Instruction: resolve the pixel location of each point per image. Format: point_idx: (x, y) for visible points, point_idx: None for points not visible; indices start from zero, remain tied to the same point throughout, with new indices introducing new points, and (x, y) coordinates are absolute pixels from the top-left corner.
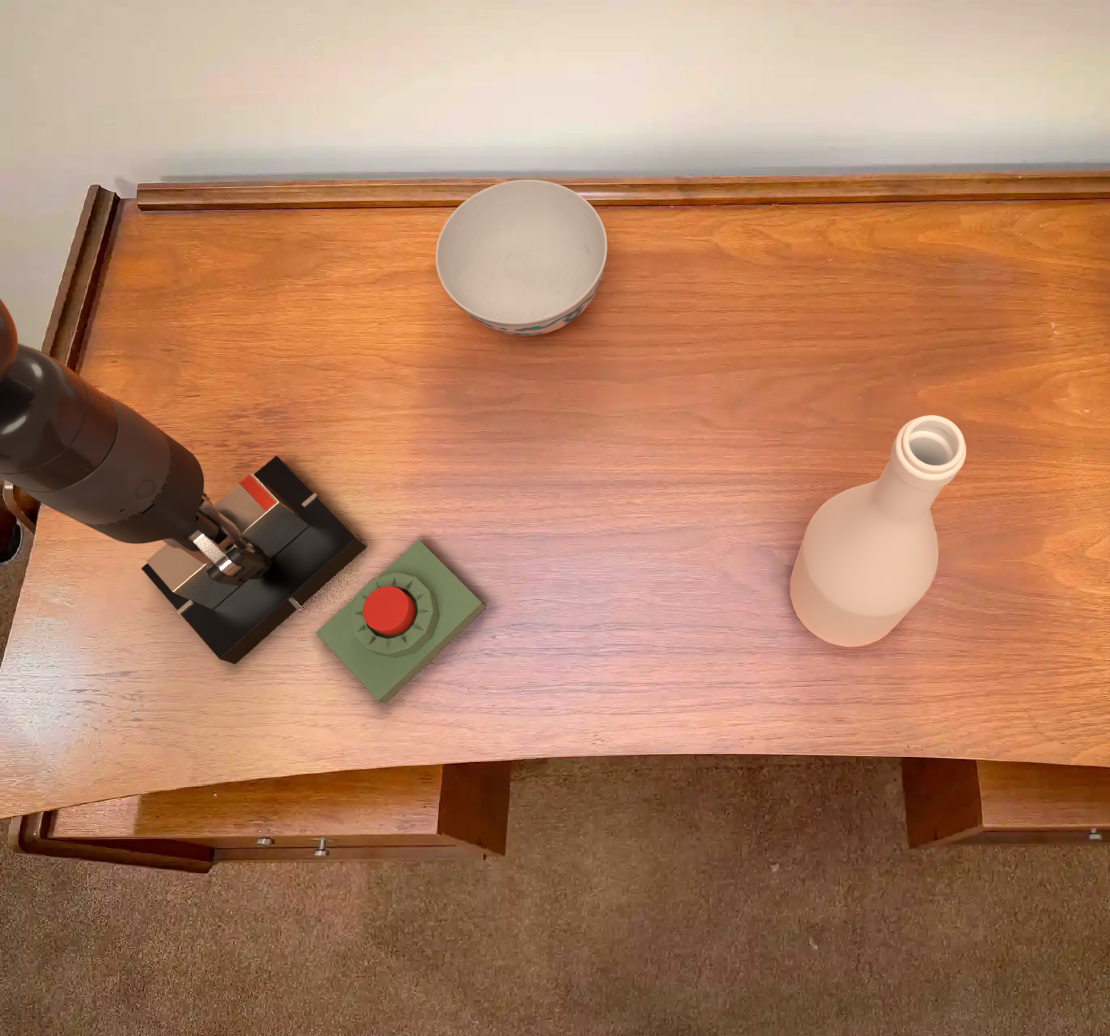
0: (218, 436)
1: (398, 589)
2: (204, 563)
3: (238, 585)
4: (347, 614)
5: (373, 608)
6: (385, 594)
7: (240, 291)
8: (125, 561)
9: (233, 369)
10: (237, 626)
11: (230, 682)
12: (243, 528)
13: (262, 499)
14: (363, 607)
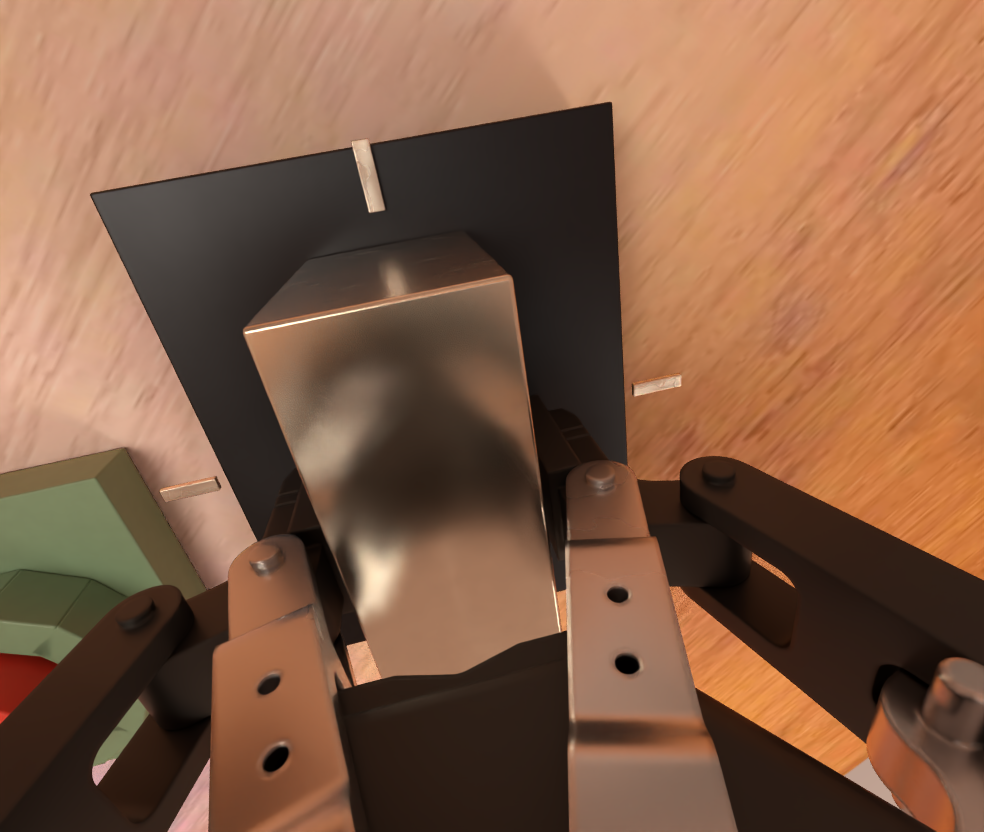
0: (783, 428)
1: None
2: (215, 648)
3: (78, 648)
4: (116, 562)
5: None
6: None
7: (971, 566)
8: (694, 36)
9: (871, 506)
10: (197, 309)
11: (81, 142)
12: (392, 665)
13: None
14: (7, 714)
